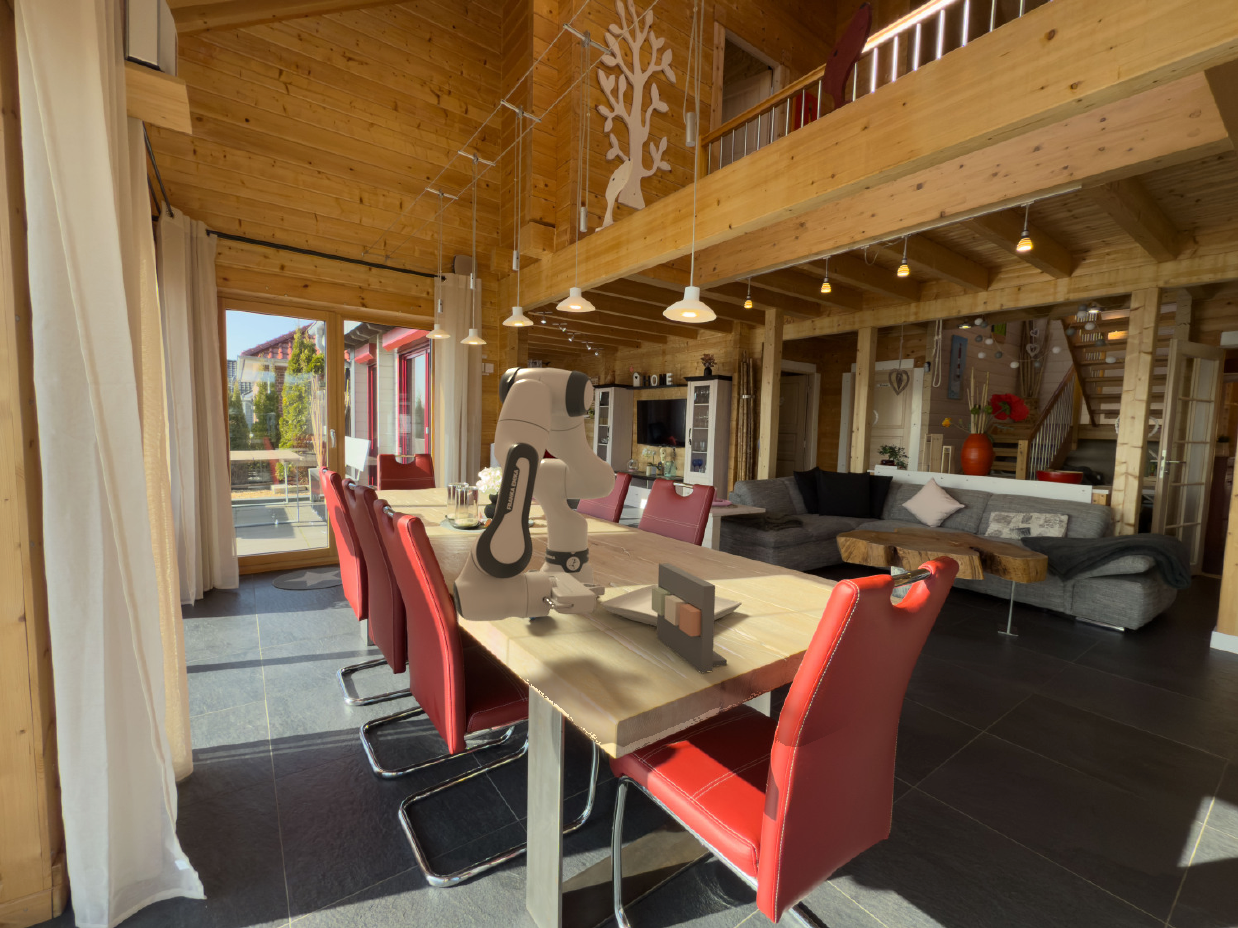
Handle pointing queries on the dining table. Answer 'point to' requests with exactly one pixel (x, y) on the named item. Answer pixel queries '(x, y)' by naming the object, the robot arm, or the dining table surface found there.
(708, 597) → the keyguard
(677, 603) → the key ivory
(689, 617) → the key terracotta
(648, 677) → the dining table surface
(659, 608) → the key sage
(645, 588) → the square plate
